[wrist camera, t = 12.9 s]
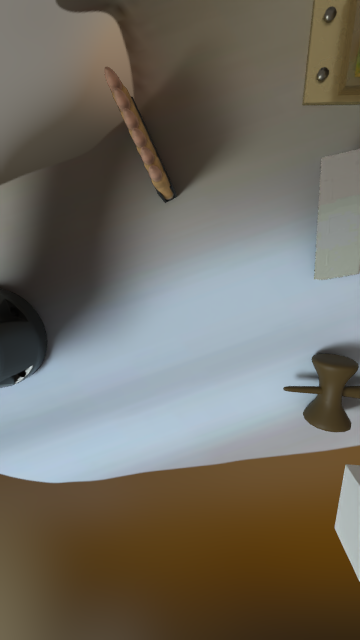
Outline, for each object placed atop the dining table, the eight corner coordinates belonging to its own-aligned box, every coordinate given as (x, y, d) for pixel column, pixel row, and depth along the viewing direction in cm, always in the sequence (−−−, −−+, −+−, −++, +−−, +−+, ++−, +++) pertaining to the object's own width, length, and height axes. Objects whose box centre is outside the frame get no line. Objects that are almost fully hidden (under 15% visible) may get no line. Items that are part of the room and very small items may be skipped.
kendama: (410, 416, 43) (274, 409, 44) (423, 354, 41) (280, 348, 42) (444, 441, 37) (286, 432, 38) (461, 370, 35) (294, 363, 36)
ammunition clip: (177, 196, 38) (164, 172, 26) (165, 203, 38) (146, 182, 27) (141, 115, 36) (110, 50, 25) (128, 122, 36) (91, 62, 25)
